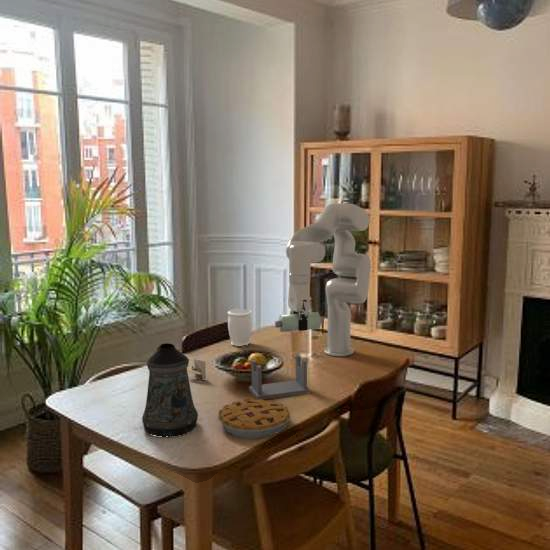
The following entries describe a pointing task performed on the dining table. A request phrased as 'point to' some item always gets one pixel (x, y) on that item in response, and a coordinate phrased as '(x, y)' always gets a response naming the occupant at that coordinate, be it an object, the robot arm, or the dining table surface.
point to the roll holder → (280, 387)
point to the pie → (254, 418)
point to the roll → (292, 322)
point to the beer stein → (169, 394)
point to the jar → (239, 326)
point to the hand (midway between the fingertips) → (299, 327)
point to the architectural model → (199, 369)
